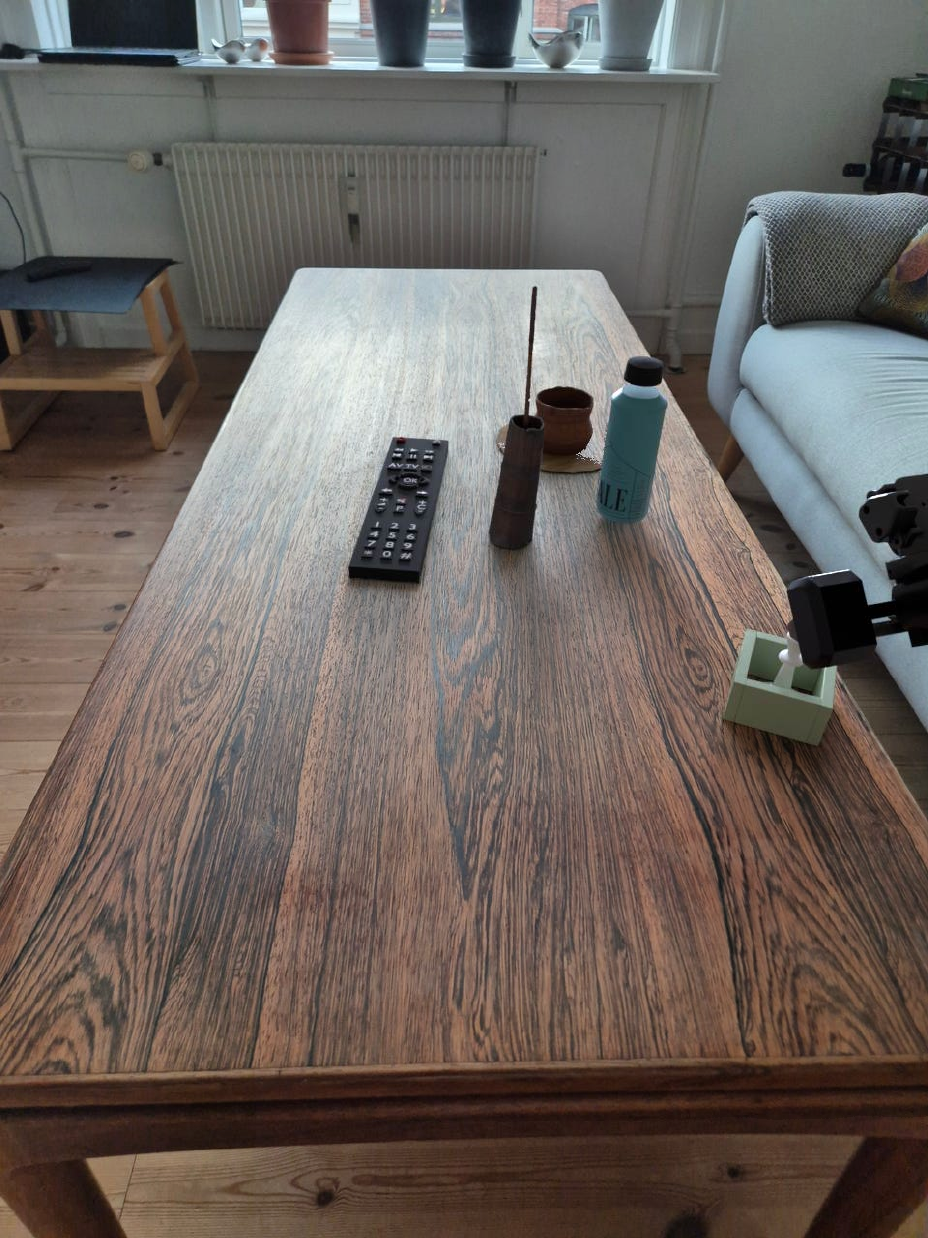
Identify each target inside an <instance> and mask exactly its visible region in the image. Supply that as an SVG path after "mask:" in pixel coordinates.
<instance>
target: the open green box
mask: <svg viewBox="0 0 928 1238" xmlns="http://www.w3.org/2000/svg"><path fill="white" fill-rule="evenodd" d="M786 649H787V637H786V638H785V637H781V636H777V635H774V634H770V633H766V632H762V631H758V630H754V629H751V628H746V629H745V633H744V635H743V638H742V641H741V645H740V648H739V651H738V655H737V658H736V661H735V665H734V669H733V674H732V676H731V677H732V678H731V682H730V685H729V690H728V695H727V698H726V702H725V707H724V710H723V715H722V720H725V721H728V722H732V723H735V724H738V725H742V726H745V727H749V728H753V729H756V730H759V731H763V732H766V733H770V734H774V735H777V736H780V737H785V738H788V739H791V740H795V741H798V742H802V743H804V744H805V743H806V744H808V745H812V746H816V747H818V746H819V744H820V742H821V740H822V737H823V736H824V735H823V734H824V732H825V730H826V728H827V725H828V723H829V720H830V717H831V716H832V713H833V711H834V704H835V703H834V702H835V695H836V694H835V693H836V685H837V684H836V682H837V672H838V666H833V667H827V668H820V669H813V670H811V669H810V668H809V667H808V666H806V665H805V664H803V665H802V666H799V667H795V669H794V674H793V679H792V684H791V687H794V688H798V689H802V690H805V691H809V692H811V695H810V694H807V693H803V692H799V691H796V690H795V691H792V690H788V689H785V688H781V687H777V686H774V685H770V684H766V683H763V682H764V681H759V680H755V679H751V678H748V675H750V676H754V677H757V678H760V679H764V680H767V681H771V682H774V680H775V679H776V677H777V675H778V673H779V671H780V669H781V667H782V665H783V662H782V661H781V660H780V659H779V654H780V653H781V652H782V651H783V650H786Z"/></svg>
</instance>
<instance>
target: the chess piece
mask: <svg viewBox="0 0 928 1238" xmlns="http://www.w3.org/2000/svg"><path fill="white" fill-rule="evenodd" d="M786 639H787V649H786V650H783V651H782V652H781V653H780V654H779V659H780V660H781V661H782V662H783V665H782V667H781V669H780V671H779V673H778V675H777V677H776V679H775V680H774V681H762V682H763V683H766V684H770V685H774V686H777V687H781V688H785V689H788V690H792V691H796V690H795V689H793V688H792V686H791V684H792V679H793V674H794V669H795V667H799V666H802V665H803V664H804V663H803V661H802V657H801V653H800V648H799V644H798V642H797V641H795V640H794V639H792V638H791V637H790V635H789V631H787V633H786Z"/></svg>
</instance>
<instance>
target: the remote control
mask: <svg viewBox="0 0 928 1238" xmlns="http://www.w3.org/2000/svg"><path fill="white" fill-rule="evenodd" d="M447 454H448V455H449V440H446V439H429V438H416V437H404V436H392V439H391V442H390V444H389V447H388V450H387V453H386V456H385V458H384V462H383V464H382V467H381V469H380V470H381V471H380V472H379V476H378V479H377V482H376V485H375V488H374V490H373V493H372V497H371V500H370V502H369V505H368V507H367V511H366V513H365V517H364V519H363V522H362V525H361V528H360V530H359V534H358V537H357V540H356V543H355V544H354V548H353V551H352V554H351V557H350V560H349V562H348V566H347V571H348V579H353V580H364V581H365V580H367V581H380V582H393V583H394V582H395V583H408V584H420V581H421V578H422V574H423V568H424V563H425V559H426V555H427V551H428V547H429V541H430V537H431V532H432V528H433V524H434V519H435V518H434V517H435V514H436V509H437V506H438V500H439V497H440V491H441V486H442V481H443V478H444V472H445V469H446V464H447V460H448V455H447ZM446 459H447V460H446ZM442 477H443V478H442Z"/></svg>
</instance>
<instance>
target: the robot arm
mask: <svg viewBox="0 0 928 1238" xmlns="http://www.w3.org/2000/svg"><path fill="white" fill-rule="evenodd" d="M865 497H866V500H865V502H864V503H863V504H862V505H861V506H860V507H859V509H858V518H859V520H860V522H861V524H862V526H863V528H864V530H865V531H866V533H867V535H868V536H869V539H870V540H871V541H872V542H873V543H875V544H883V543H887V544H888V547H889V548H890V549H891V551H892V553H893V554H894V555H896V556H897V557H898V558H894V559H892V560H888V561H885V562H884V564H885V565H884V566H885V568H886V573H887V577H888V580H890V581H894V582H895V583H894V584H893V585H892V588H891V600H888V601H883V602H877V603H871V604H869V603H868V599H867V594H866V591H865V586H864V583H863V579H862V578H861V577H859V576H858V574H856V573H854V572H853V571H852V570H851V569H846V570H845V569H844V570H839V571H833V572H827V573H821V574H815V575H808V576H805V577H802V578H798V579H796V580H792V581H791V582H790V583H789V585H788V586H787V589H786V591H785V592H786V596H787V600H788V604H789V609H790V614H791V617H792V619H791V620H790V621H789V622H788V623H786V625H787V632H789V635H790V637H791V638H792V639H794V640H795V641H797V642H798V644H799V648H800V653H801V657H802V661H803V663H804V664H805V665H806V666H808V667H809V668H810V669H811V670H813V669H820V668H827V667H833V666H837V667H838V666H843V665H847V664H848V665H849V664H852V663H858V662H863V661H868V660H872V658H873V655H874V653H875V651H876V648H877V646H878V641H877V639H878V638H882V637H888V636H892V635H898V634H902V633H903V634H904V633H907V635H908V639H909V643H910V647H911V648H912V649H913V648H919V647H926V646H928V472H927V473H920V474H912V475H905V476H900V477H897V478H896V479H895V480H894V481H893V482H892V483H885V484H883V485H882V486H881V487H879V488H878V489H874V490H873V489H872V490H869V491H868V492H867V493H866V496H865ZM884 618H888V620H883V621H877V622H873V620H878V619H884Z"/></svg>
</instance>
